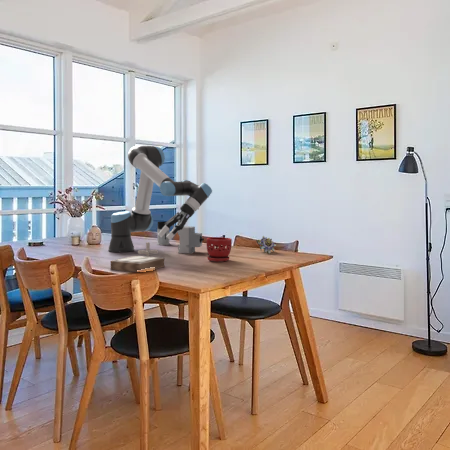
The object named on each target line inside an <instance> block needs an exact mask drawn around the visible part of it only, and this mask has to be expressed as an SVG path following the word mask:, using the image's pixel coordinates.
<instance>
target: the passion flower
mask: <svg viewBox="0 0 450 450" xmlns="http://www.w3.org/2000/svg"><path fill="white" fill-rule="evenodd" d="M256 243H257V244H258V246H259V249H260V250H263V252H264V253H267V254H269V255H270V254H271V251H272V252H275V247H277V244H275V242H274V241H273V240H272V238H270V237H265V236H264V235H263V236H262V238H261V239H257V240H256Z"/></svg>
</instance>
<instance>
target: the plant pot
mask: <svg viewBox="0 0 450 450" xmlns="http://www.w3.org/2000/svg"><path fill="white" fill-rule="evenodd" d="M232 243H233V241H232V238H231V237H222V236H221V237H218V236H216V237H215V236H214V237H213V236H212V237H210V236H209V237H207V238H206V250H207V253H208V256H207V260H208V261H210V262H212V263H213V262H217V263H218V262H219V263H222V262H223V263H224V262H227V261H229V260H230V256H229V255H230V254H231V249H232Z"/></svg>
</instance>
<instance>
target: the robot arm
mask: <svg viewBox="0 0 450 450" xmlns="http://www.w3.org/2000/svg"><path fill="white" fill-rule="evenodd" d="M127 153H128V155H127V158H128V162H129V163H130V165H132V167H134V169H137V170H139V171H140V176H139V183H138V187H137V193H136V194H137V195H136V199H135V205H134V207H133V208H131V211H129V210H128V211H127V210H126V211H117V212H114V213H112V214H111V215H110V230H111V232H110V234H111V238H110V242H109V245H108V251H109V252H113V253H123V252H124V253H126V252H133V251H135V245H134V243H133V240H132V233H140V232H147V231H149V230H150V229H152V227H153V225H154V217H153V215H152V213H151V212H152V211H151V210H150V206H151V205H150V204H151V199H152V195H153V189H154V184H155V185H157V187H158V188H159V191H160V194H161V195H163V196H164V197H165V196H166V197H174V196H177V197H178V196H180V197H181V196H187V197H188V198H187V199H186V200H185V202H184V203H183V204H182V205H181V206H180V208H179V210H180V212H179V211H177V212H176V213H175V214H174V215H173V216H172V217H170V218H169V219H168V220H167V221H165V222H166V223H165V226H164V227H163V228H162V230H161V231H160V232H159V233H158V235H159V236H160V237H161V238H162V236H163V235H164V234H165V233H166V232H167V231H168V230H169V229H170V230H171V231H170V230H169V234H168V235H167V236H166V237H167V238H168V239H169V241H171V240H172V239H173V238H174V237H175V236H176V234H178V230H180V229H181V230H182V229H183V227H184V226H185V225H186V224H187V222H188V220H189V219H190V218H192V216H193V215H194V214H195V213H196V212H197V210H199V209H200V207H201V206H202V205H203V204H204V202H206V200H207V199H208V198H209V197H210V196H211V194H213V189H212V188H211V186H210V185H209V184H207V183H206V182H202V183H201V184H197V183H194V182H192V181H191V180H188V179H183V180H180V181H175V180H173V179H172V178H171V177H170V176H168V175H167V174H166V173H165V172H164V171H163V170H161V169H160V167H161V166H163V165H164V163H165V160H166V159H165V158H166V157H165V153H164V151H163V149H162V148H161V147H159V146H155V145H142V144H140V145H135V146H132V147H131V148H130V149H129V151H128V152H127ZM175 224H176V225H175ZM173 225H174V227H173ZM171 227H173V228H172V229H171ZM158 235H157V236H158Z"/></svg>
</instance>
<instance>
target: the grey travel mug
mask: <svg viewBox="0 0 450 450" xmlns="http://www.w3.org/2000/svg"><path fill="white" fill-rule="evenodd" d="M166 222H167V221H157V230H156V231H157V242H156V245H157V246H168V245H171V244H170V240H169V239H168V238H167V237H166V236H167V235H168V234H169V233H170V230H171V228H170V229H169V230H168V231H167V232H166V233H165V234H164V235H163V236H162V238H161V237H160V236H159V235H158V233H159V232H160V231H161V230H162V228H163V227H164V226H165V223H166ZM172 227H173V228H174V227H175V224H174V225H172Z"/></svg>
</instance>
